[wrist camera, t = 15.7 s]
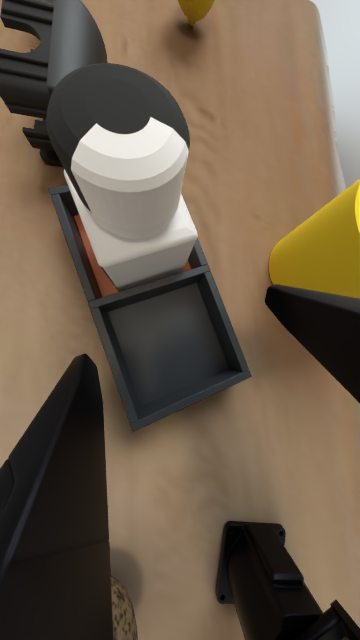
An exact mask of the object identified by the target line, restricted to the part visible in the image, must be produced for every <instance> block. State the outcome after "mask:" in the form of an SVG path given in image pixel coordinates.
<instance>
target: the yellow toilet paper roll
mask: <svg viewBox="0 0 360 640" xmlns="http://www.w3.org/2000/svg"><path fill="white" fill-rule="evenodd" d="M269 273H270V278H271V281H272V283H273V285H275V284H279V285H284V286H290V287H296V288H302V289H308V290H313V291H319V292H325V293H331V294H337V295H343V296H348V297H354V298H360V179H359V180H358V181H356V182H355V183H354V184H352V185H351V186H350V187H349V188H347V189H346V190H345V191H343V192H342V193H341V194H340V195H338V196H337V197H336V198H334V199H333V200H332V201H330V202H329V203H328V204H327V205H325V206H324V207H323V208H321V209H320V210H319V211H318V212H316V213H315V214H314V215H312V216H311V217H310V218H309V219H307V220H306V221H305V222H303V223H302V224H301V225H299V226H298V227H297V228H296V229H294V230H293V231H292V232H290V233H289V234H288V235H287V236H285V237H284V238H283V239H281V240H280V241H279V242H278V243H277V244H276V245H275V247H274V248H273V250H272V252H271V255H270V259H269Z"/></svg>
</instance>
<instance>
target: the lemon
mask: <svg viewBox="0 0 360 640" xmlns="http://www.w3.org/2000/svg"><path fill="white" fill-rule="evenodd" d="M178 2H179V4H180V7H181V9H182V11H183V13H184V14H185V16H186V17H187V19H188V22H189V25H191V26H193V25H194V24H195V23H196V21H198V20H201V19H202V18H204V17H205V16H206V14H207V13H208V12H209V10H210V9H211V7H212V5H213V2H214V0H178Z"/></svg>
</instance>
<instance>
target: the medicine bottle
mask: <svg viewBox="0 0 360 640" xmlns="http://www.w3.org/2000/svg"><path fill="white" fill-rule="evenodd" d="M46 123H47V131H48V136H49V138H50V141H51V144H52V146H53V148H54V150H55V152H56V154H57V156H58V157H59V159H60V161H61V163H62V165H63V167H64V176H65V178H66V181H67V184H68V186H69V189H70V191H71V194H72V197H73V199H74V202H75V205H76V207H77V210H78V212H79V215H80V218H81V220H82V223H83V225H84V228H85V231H86V233H87V236H88V238H89V241H90V244H91V246H92V249H93V252H94V254H95V257H96V259H97V262H98V264H99V265H100V267H101V268H102V270H103V271H104V272H105V274H106V275H107V277H108V278H109V279H110V281H111V282H112V284H113V285H114V286H115V288H116V289H117V290H118V292H121V291H124V290H127V289H131V288H134V287H137V286H140V285H144V284H147V283H150V282H153V281H156V280H160V279H163V278H166V277H169V276H172V275H176V274H179V273H182V271H183V269H184V267H185V264H186V262H187V260H188V258H189V255H190V253H191V251H192V248H193V246H194V244H195V241H196V239H197V237H198V234H197V231H196V228H195V226H194V224H193V221H192V219H191V216H190V214H189V212H188V209H187V207H186V204H185V202H184V200H183V197H182V195H181V190H182V184H183V179H184V174H185V169H186V163H187V158H188V153H189V145H190V137H189V130H188V126H187V123H186V120H185V118H184V116H183V113H182V111H181V109H180V107H179V105H178V103H177V102H176V100H175V99H174V97H173V96H172V95H171V94H170V93H169V91H168V90H167V89H166V88H165V87H164V86H162V85H161V84H160V83H159V82H158V81H156V80H155V79H154V78H152V77H150V76H149V75H147V74H145V73H143V72H141V71H139V70H137V69H134V68H131V67H128V66H123V65H119V64H111V63H99V64H91V65H87V66H83V67H80V68H78V69H76V70H74V71H72V72H70V73H69V74H67V75H66V76H65V77H64V78H62V79H61V80H60V82H59V83H58V84H57V85H56V87H55V88H54V90H53V92H52V94H51V97H50V100H49V105H48V109H47V116H46Z"/></svg>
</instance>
